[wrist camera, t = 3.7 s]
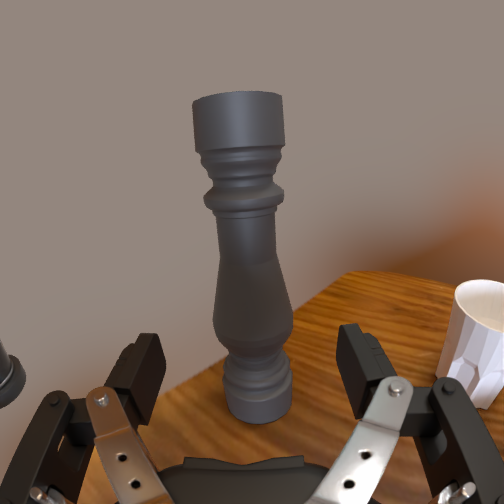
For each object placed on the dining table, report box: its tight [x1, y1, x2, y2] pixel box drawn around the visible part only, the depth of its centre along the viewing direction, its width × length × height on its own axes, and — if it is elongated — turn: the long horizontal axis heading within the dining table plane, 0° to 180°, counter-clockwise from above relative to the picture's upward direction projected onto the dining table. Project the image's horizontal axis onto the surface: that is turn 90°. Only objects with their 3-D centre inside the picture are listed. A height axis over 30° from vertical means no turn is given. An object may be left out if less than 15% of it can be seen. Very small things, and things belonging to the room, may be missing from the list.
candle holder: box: [192, 91, 293, 424], centre depth 21 cm, size 6×6×25 cm
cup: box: [435, 280, 504, 410], centre depth 19 cm, size 10×10×10 cm
